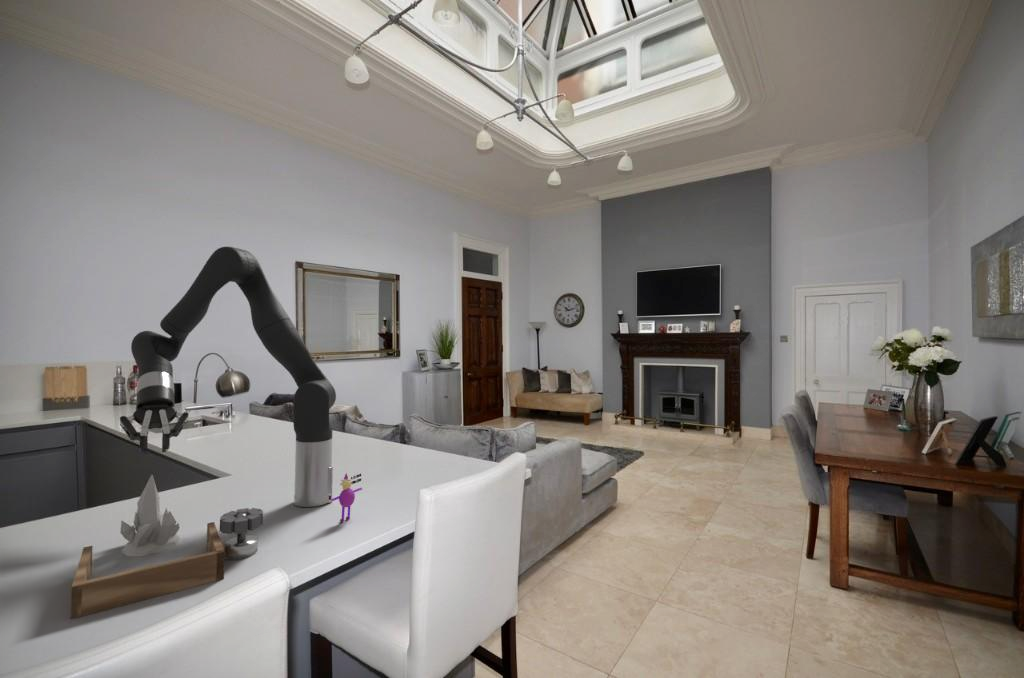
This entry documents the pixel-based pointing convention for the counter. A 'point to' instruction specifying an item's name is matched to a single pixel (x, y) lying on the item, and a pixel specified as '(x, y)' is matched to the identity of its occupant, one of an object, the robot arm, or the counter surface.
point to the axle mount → (241, 545)
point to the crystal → (150, 526)
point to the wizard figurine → (346, 494)
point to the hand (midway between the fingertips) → (154, 451)
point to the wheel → (241, 521)
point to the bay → (144, 579)
